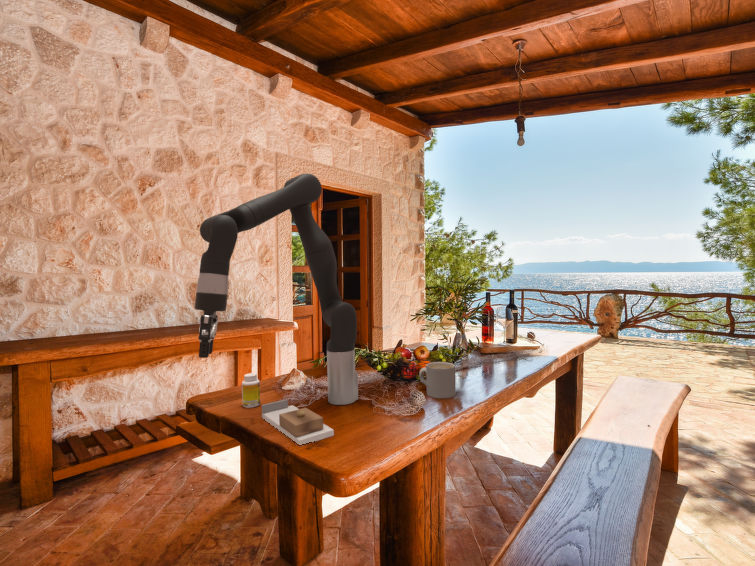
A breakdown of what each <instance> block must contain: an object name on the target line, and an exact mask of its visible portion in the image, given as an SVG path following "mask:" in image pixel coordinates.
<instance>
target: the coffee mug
mask: <svg viewBox="0 0 755 566" xmlns="http://www.w3.org/2000/svg"><path fill="white" fill-rule="evenodd" d="M418 373H419V375H418V377H419V381H420V382H421V383H422V384H423V385H424V386H426V395H427V396H429V397H430V398H431V397H432V398H433V399H450V398H454V397H455V396H456V385H457V384H456V365H455V364H454V363H451V362H446V361H434V362H429V363H426V365H425V367H422V368H421V369H420V371H419V372H418ZM424 373H426V375H424ZM425 376H426V377H425ZM425 378H426V379H425Z"/></svg>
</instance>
